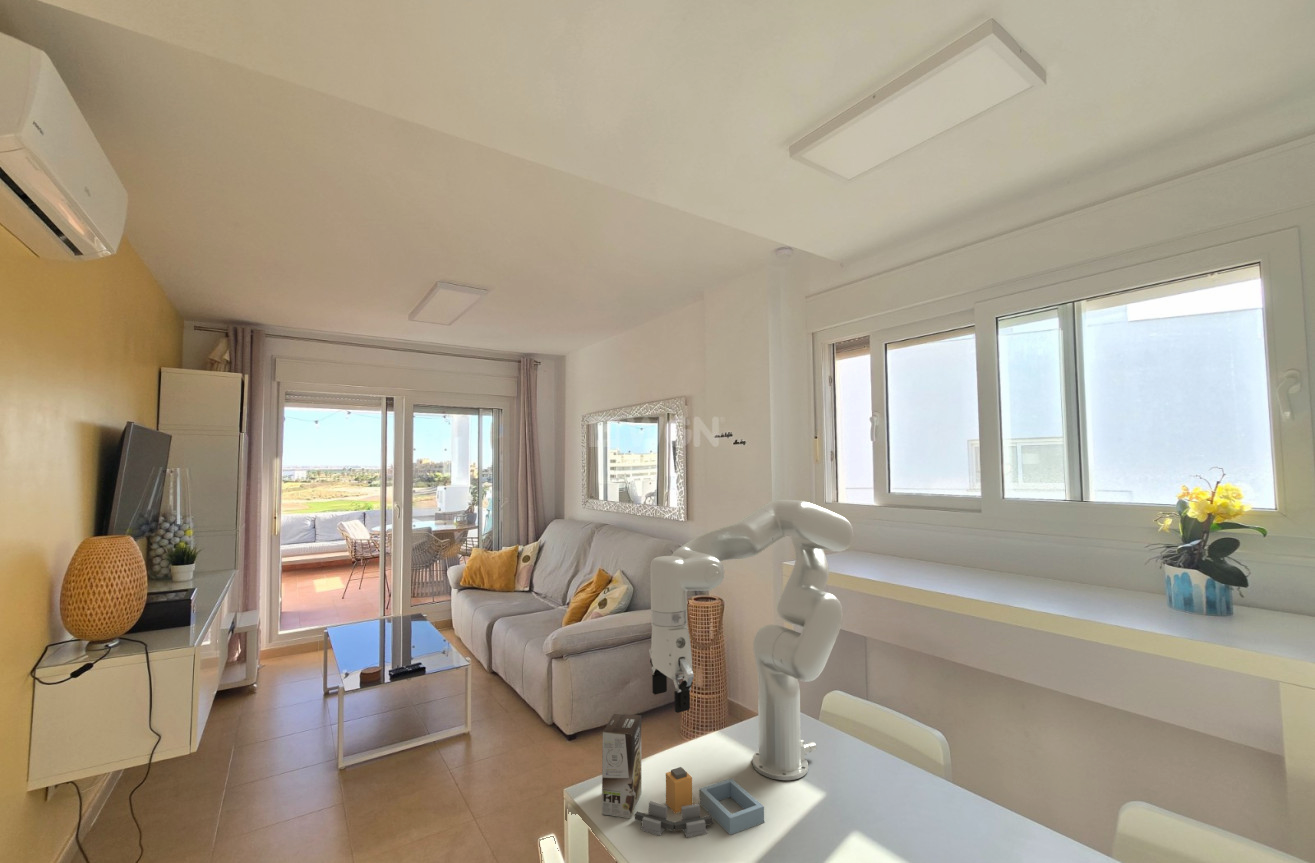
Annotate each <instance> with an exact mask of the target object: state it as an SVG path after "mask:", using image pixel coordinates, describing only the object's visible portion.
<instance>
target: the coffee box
mask: <svg viewBox="0 0 1315 863" xmlns="http://www.w3.org/2000/svg"><path fill="white" fill-rule="evenodd" d="M601 750H602V752H601V754H602V757H601V758H602V763H601V764H602V765H601V769H602V770H601V777H602V778H601V784H602V785H601V786H602V787H601V814H602V815H604V816H605V815H606V816H613V817H621V818H626V819H631V818H632V816H633V815H634V812H635V809H636V807H637V804H638V802H639V799H640V798H641V797H640V796H641V794H642V715H640V714H628V713H626V714H625V713H624V714H619V713H613V715H612V716H611V718H610V719H609V721H608V723H607V724H606V725H605V728H604V729H603V730H602V749H601Z"/></svg>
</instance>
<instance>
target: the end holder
mask: <svg viewBox="0 0 1315 863" xmlns="http://www.w3.org/2000/svg"><path fill="white" fill-rule="evenodd" d="M698 792H699V794H698V795H699V796H698V797H699V805H700V807H702V808H703V809H704V810H705V811H706V812H707V813H708V814H709V815H711V816H712V818H713V820H715V821H716V822H717V823H718V824H719V826H721V827H722V828H723V829H724V830H725V831H726V832H727V834H729V835H730V836H731V835H735V834H737V833H740V832H742V831H744V830H749V829H751V828H754V827H756V826H758V825H761V824H763V823H765V806H764V805H763V804H762V803H761V802H760V801H758V800H757V799H756V798H755V797H754V796H753V795H751V794H750V793H749V792H748V791H747V790H745V788H743V786H741V785H740V784H738V782H736V781H735V780H734V779H733V778H729V779H725V780H722V781H720V782H719V781H718V782H715V783H712V784H709V785H707V786H703V787H699V790H698ZM728 798H731V799H732V800H734V802H735V803H737V805H739V806H740V807H741V808H742V809H741V810H739V811H736V812H733V813H731V812H730V811H729V810H728V809H727V808H726V807H725V806H724V805H723V804H722V803H721V802H720V801H723V800H724V799H728Z"/></svg>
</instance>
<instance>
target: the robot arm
mask: <svg viewBox="0 0 1315 863" xmlns="http://www.w3.org/2000/svg"><path fill="white" fill-rule="evenodd" d="M854 534H855V533H854V529H853V525H852V524H851V522H850V521H849V520H848V519H847V518H846V517H844V516H843V515H840V514H838V513H836V512H833V511H831V510H829V509H827V508H824V507H821V506H819V505H817V504H814V503H811V502H808V501H806V500H794V499H774V500H772V501H770V502H768V503H766V504H764V505H763V506H761V507H759V508H758V509H757V510H755V511H754V512H752V513H750V514H749V515H747V516H746V517H744V518H742V519H741V520H739V521H737V522H735V523H732V524H730V525H727V526H723V527H721V528H719V529H714V530H712V531H709V532H706V533H704V534H700V535H699V536H696V537H694V538H692V539H691V540H690V541H688V542H687V543H684V544H682V546H680V547H678V548H677V549H675V551H674V552H673V553H671V555H663V556H657V557H655V558H653V559H652V560H651V562H650V572H649V573H650V619H651V620H650V623H651V624H650V625H651V638H650V639H651V643H650V646H651V647H650V648H648V653H649V657H650V660H649V662H650V665H651V669H650V673H651V677H652V678H651V679H652V680H651V681H652V682H651V683H652V687H651V688H652V694H653V695H655V696H656V695H659V694H665V693H667V691H668V687H667V686H668V680H667V678H669V679H671V680H672V681H673V684H674V687H675V691H674V695H673V696H674V712H676V713H677V714H678V713H681V712H686V711H690V709H691V699H690V698H691V697H690V696H691V695H690V693H691V692H690V691H691V690H692V686H693V681H694V677H695V675H694V674H695V673H694V672H693V654H692V646H691V637H690V632H689V627H688V591H691V592H692V591H701V592H702V591H703V592H704V591H706V592H707V591H712V590H714V589H716V588H718V587H719V586H720V585H721V583H722V582H723V580H724V578H725V572H726V571H725V567H724V565H723V563H722V561H729V560H743V559H748V558H749V559H750V558H754V557H755V556H758V555H759V554H761V553H762V552H763V551H765V550H767V549H768V548H769V547H771V546H772V545H774V544H775V543H777V542H779V541H780V540H781V539H783V538H785V537H790V540H791V542H792V544H793V548H794V552H795V555H794V556H795V561H794V565H793V568H792V571H791V573H790V575H789V577H788V579H787V581H786V584H785V586H784V588H783V590H782V592H781V595H780V596H779V599H778V602H777V604H776V605H777V607H776V611H777V614H778V616H779V618H780V619H781V620H782V621H784V622H785V623H787V624H789V625H792V626H794V627H797V628H800V629H801V632H799V631H797V630H793V629H791V628H787V627H785V626H781V625H779V624H766V625H764V626H762V627H760V628H759V629H758V631H756V633H755V635H754V637H753V642H752V651H753V655H754V656H753V657H754V661H755V665H756V666H755V668H756V674H757V675H756V676H757V687H758V688H757V699H758V700H757V703H758V704H757V705H758V706H757V707H758V709H757V711H758V713H757V714H758V717H757V718H758V750H757V751H756V752H755V753H754V754H753V755H752V758H751V759H752V760H751V761H752V767H753V768H754V769H755V770H756V772H757V773H759V774H761V775H762V776H764V777H766V778H769V779H772V780H776V781H777V780H778V781H795V780H798V779H800V778H803V777H804V776H805V775H806V774H807V773H808V771H809V763H808V760H807V759H806V758H805V756H807V755H808V753H812V752H814V751H817V744H816V742H814V741H810V742H808V743H807V742H806V743H805V741H804V739H801V735H802V734H801V691H800V683H799V681H801V682H806V683H807V682H812V681H815V680H816V679H818V677H819V676H820V675H821V673H822V672H823V671H824V669H825V667H826V664H827V663H828V660H829V658H830V655H831V652H832V650H833V647H834V646H835V643H836V640H837V638H838V636H839V634H840V630H841V628H842V624H843V616H844V615H843V614H844V611H843V607H842V603H841V601H840V600H839V599H838V598H837V597H836V596H835V595H834V594H832V593H830V592H827V591H824V590H825V588H826V585H827V582H828V579H829V576H830V567H829V562H828V559H827V556H826V552H825V551H827V552H832V553H841V552H844V551H846V550H848V549H849V548H850V546H851V545H852V543H853V541H854V537H855V536H854ZM681 679H682V681H681V683H680V681H679V680H681Z"/></svg>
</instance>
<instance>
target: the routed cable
mask: <svg viewBox="0 0 1315 863" xmlns="http://www.w3.org/2000/svg"><path fill="white" fill-rule="evenodd" d="M643 817H648V818H651V819H654V820H658V821H661V827H662V828H665V829H666V830H669V831H673V832H674V831H675V832H677V831H683V829H686V823H689V822H694V821H699V820H704V821H705V826H707V825H713V823H714V818H713V817H712V816H711V815H710V814H709V815H704V816H700V817H698V818H693V819H688V820H683V821H681V820H678V821H672V820H668V819H667V820H666V819H662V818H659V817H655V816H652V815H649V813H644V812H641V811H635V813H634V821H635V820H636V821H639V822H642V819H643ZM665 829H664V830H665Z"/></svg>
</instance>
